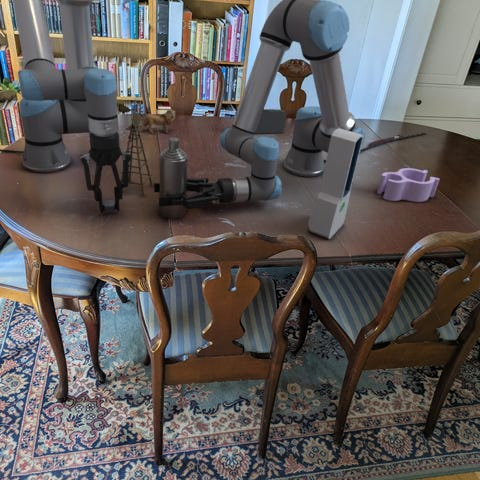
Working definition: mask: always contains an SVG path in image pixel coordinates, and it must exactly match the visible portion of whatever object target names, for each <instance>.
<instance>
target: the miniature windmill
mask: <svg viewBox="0 0 480 480" xmlns="http://www.w3.org/2000/svg"><path fill="white" fill-rule="evenodd" d="M142 100H143V98H141V95H137V98H134V99H133V101H132V103H133V104H131V108H130V107H129V106H126V105H123V104H119V113H125V114H128V113H130V112H131V114H130V117H131V119H130V120H131V124H130V125H129V126H128V127H126V128H125V130H126V131H129V135H128V137H127V138H128V141H127V143H126V145H127V146H126V147H127V148H126V150H125V152H129V153H130V155H131V159H130V161H129V184H133V185H137V186H140V191H141V196H142V197H144V196H145V193H144V191H145V190H144V185H145V184H146V182H148V181H149V184H150V186H151V187H153V186H154V183H153V179H152V176H153V175H152V174H151V172H150V168H149V164H148V160H147V156H146V152H145V147H144V145H143V140H142V134H141V132H142V131H143V130H144V128H145V127H143V125H140V124H141V121H143V119H142V118H143V113H144V110H142V109H144V105H143V103H144V102H143V101H142ZM137 103H138V104H137ZM142 105H143V106H142ZM138 140H139V142H138ZM134 141H135V145H134ZM130 144H131V145H130ZM139 144H140V146H139ZM134 148H136V151H134ZM141 153H142V155H143V159H141V157H140V154H141ZM133 154H136V156H137V158H135V157H133ZM133 160H135V161H137V165H138V166H136V165H133ZM141 162H144V163H142V164H141ZM144 166H145V167H146V173H142V168H143V167H144ZM133 168H134V169H138V172H137V171H132V169H133ZM132 174H137V175H139V182H134V181H132ZM120 175H121V177H120V182H123V171H121V173H120ZM143 176H148V177H147V178H146V179H145V180H144V181H143Z"/></svg>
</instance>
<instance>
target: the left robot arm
mask: <svg viewBox="0 0 480 480" xmlns="http://www.w3.org/2000/svg"><path fill="white" fill-rule="evenodd" d="M55 1H56V3H58V6H59V14H60V15H59V16H60V24H61V32H62V33H61V34H62V41H63V50H64V51H63V52H64V60H65V69H63V68H62V69H61V68H59V69H57V66H56V62H55V57H54V52H53V47H52V41H51V36H50V31H49V30H50V29H49V25H48V20H47V15H46V10H45V3H44V0H12V5H13V11H14V16H15V20H16V26H17V27H16V28H17V33H18V37H19V43H20V44H19V45H20V48H21V49H20V50H21V55H22V61H23V66H24V69H19V70H18V71H17V77H18V83H19V89H20V95H21V99H20V100H19V103H18V104H19V116H20V118H21V123H22V124H21V125H22V130H23V131H22V132H23V137H24V148H23V150H14V149H13V150H12V149H1V148H0V152H4V153H15V154H22V158H21V159H22V160H21V161H22V166H23V168H24V169H25V170H27V171H29V172H33V173H39V174H46V173H56V172H61V171H63V170H66V169H67V168H69V167H70V166H71V163H72V159H71V155H70V153H69V151H68V150H67V149H68V148H67V147H66V145H65V143H64V140H63V135H72V134H73V135H74V134H86V133H87V134H88V136H89V146H90V147H89V151H88V153H86V154H80V155H79V159H80V162H81V164H82V165H83V171H84V172H83V173H84V178H85V185H86V189H87V191H89V192H93V196H94V198H93V199H94V201H95V202H96V203H98V209H99V212H100V214H103V213H104V211H103V201H104V200H103V192H102V189H101V188H100V186H101V178H102V172H103V169H104V167H111V171H112V175H113V178H114V181H115V185H116V186H113V193H114V194H113V195H114V201H115V202H116V212H120V200H123V190H124V189H125V188H129V184H130V183H129V168H130V167H129V165H130V159H131V155H130V153H129V152H126V151H123V150H122V148H121V147H120V133H119V131H120V130H119V116H118V114H119V113H118V94H117V90H118V85H117V80H116V79H117V77H116V74H115V72H113V71H112V70H109V69H107V68H99V67H97V66H95V59H94V45H93V36H92V35H93V34H92V23H91V9H90V8H91V7H90V6H91V4H92V3H93V2H94V1H95V0H55ZM120 157H121V160H122V172H123V182H121V181H120V180H121V177H120V174H119V171H118V168H117V161H118V160H119V159H120ZM91 159H92V160H93V162H95V170H94V171H95V172H94V178H93V184H92V178H91V171H90V166H89V163H90V161H91Z"/></svg>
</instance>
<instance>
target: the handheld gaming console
mask: <svg viewBox="0 0 480 480" xmlns="http://www.w3.org/2000/svg"><path fill="white" fill-rule="evenodd" d="M237 111H238V109H237V110H236V111H235V115H234V117H235V116H236V113H237ZM286 119H287V112H286V110H285V109H280V108H279V109H278V108H277V109H275V108H271V109H270V108H269V109H267V108H264V110H263V112H262V115H261V118H260V120H259V123H258V126H257V129H256V131H255V134H281V133H283V132H284V131H285V127H286V126H285V125H286Z"/></svg>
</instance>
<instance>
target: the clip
mask: <svg viewBox="0 0 480 480" xmlns="http://www.w3.org/2000/svg"><path fill="white" fill-rule="evenodd" d="M428 172H429V170H428V169H423V170H421V169H418V168H413V167H411V168H410V167H405V168H404V167H403V168H400V169H398V170H397V171H394V172H393V171H385V172H383V173H382V174H381V178H380V180H379V184H378V187H377V192H376V193H377V194H378V195H382V193H383V197H382V199H383V200H386V201H391V202H398V201H400V200H403V201H404V200H405V201H409V202H415V203H422V202H426V201H428V200H429V198H434V196H435V194H436V190H437V188H438V185H439V183H440V178H439V177H436V176H435V177H434V176H430V177H429V179H428V180H427V181H425V180H426V178H427V175H428Z"/></svg>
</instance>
